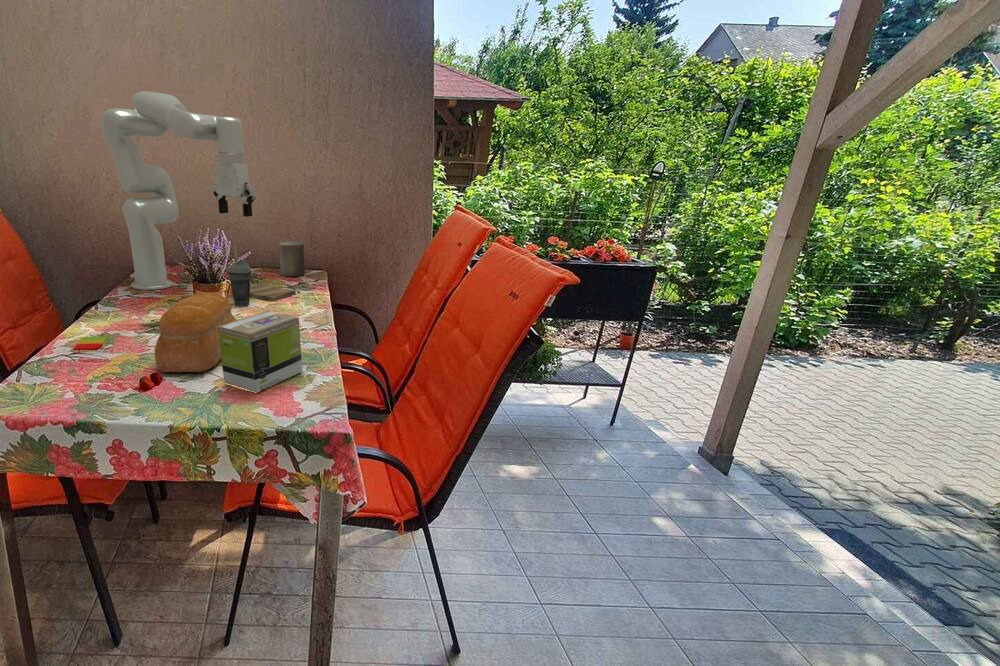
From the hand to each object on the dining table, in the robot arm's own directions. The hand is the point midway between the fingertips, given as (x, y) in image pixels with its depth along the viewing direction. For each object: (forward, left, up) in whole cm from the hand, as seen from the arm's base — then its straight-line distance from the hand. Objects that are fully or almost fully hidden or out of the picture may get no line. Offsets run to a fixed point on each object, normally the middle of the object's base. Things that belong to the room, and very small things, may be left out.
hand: (235, 214), depth 171 cm
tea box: (+49, -44, -31) cm, 73 cm away
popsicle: (-3, -47, -31) cm, 57 cm away
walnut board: (-4, +15, -30) cm, 34 cm away
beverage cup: (0, 0, -31) cm, 31 cm away
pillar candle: (-17, +46, -31) cm, 58 cm away
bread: (+25, -40, -31) cm, 57 cm away
